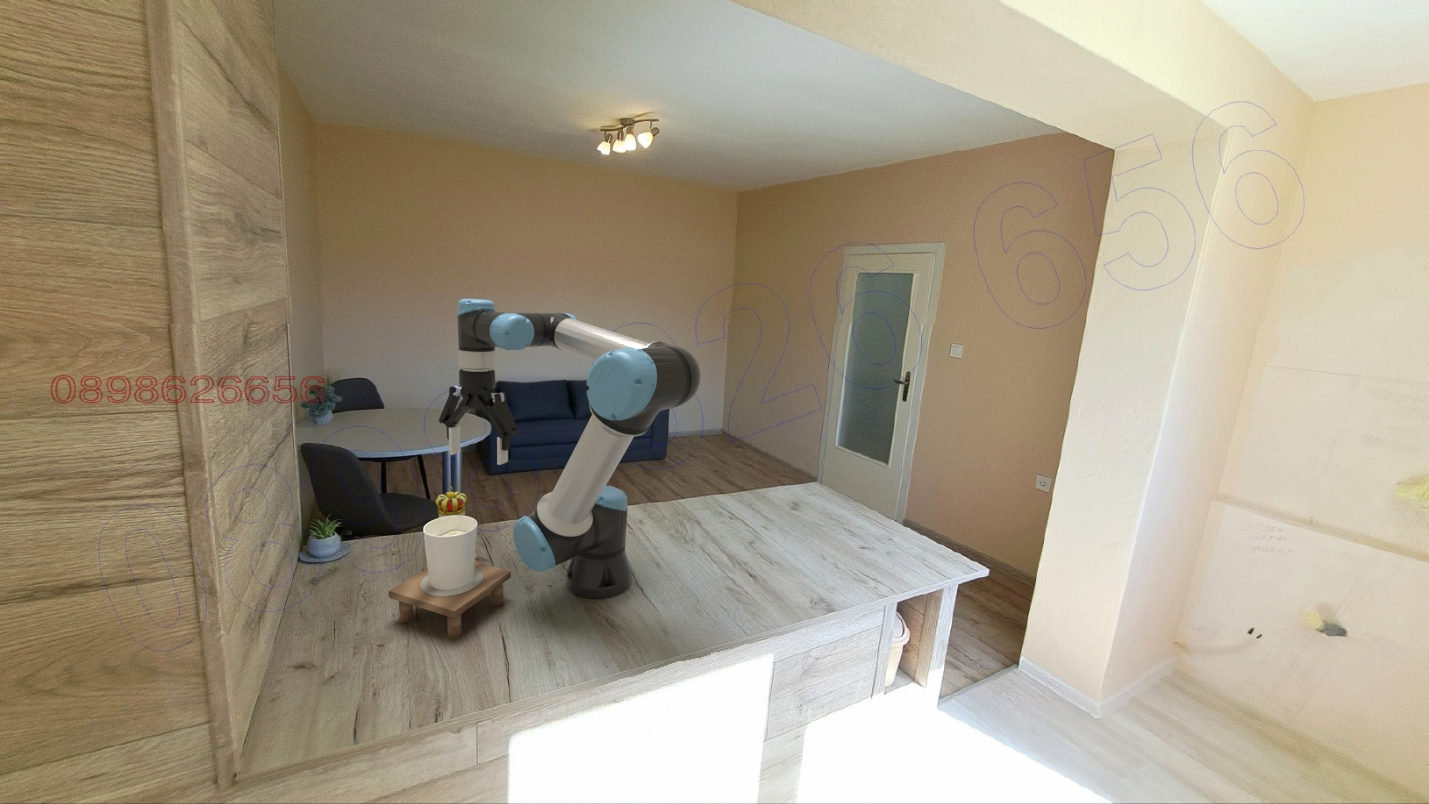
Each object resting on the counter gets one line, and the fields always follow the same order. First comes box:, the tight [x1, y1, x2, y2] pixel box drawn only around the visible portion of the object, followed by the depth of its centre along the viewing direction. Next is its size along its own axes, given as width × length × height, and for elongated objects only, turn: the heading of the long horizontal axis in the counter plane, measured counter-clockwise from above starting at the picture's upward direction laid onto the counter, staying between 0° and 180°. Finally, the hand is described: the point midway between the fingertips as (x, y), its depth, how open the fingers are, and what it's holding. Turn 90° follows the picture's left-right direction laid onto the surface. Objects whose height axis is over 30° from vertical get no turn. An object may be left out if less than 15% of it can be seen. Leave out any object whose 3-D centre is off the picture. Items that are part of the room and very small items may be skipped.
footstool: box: [388, 561, 512, 640], centre depth 112 cm, size 16×16×7 cm
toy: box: [435, 485, 468, 518], centre depth 140 cm, size 7×7×15 cm
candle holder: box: [422, 515, 478, 590], centre depth 110 cm, size 10×10×12 cm
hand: (478, 458), depth 126 cm, fingers open, 13 cm apart
